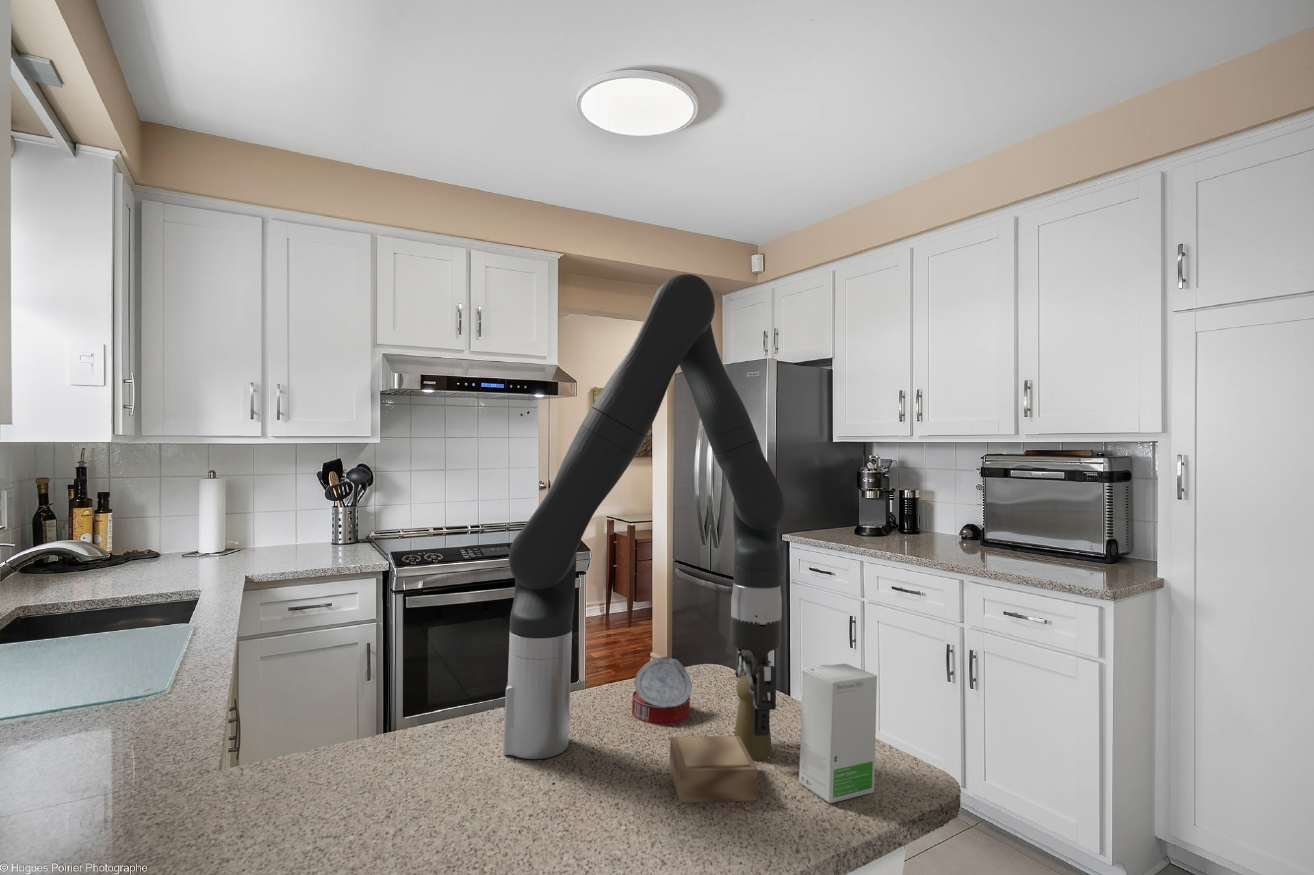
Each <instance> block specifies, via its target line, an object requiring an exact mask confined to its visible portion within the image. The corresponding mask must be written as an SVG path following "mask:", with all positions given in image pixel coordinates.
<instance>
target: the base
mask: <svg viewBox="0 0 1314 875" xmlns="http://www.w3.org/2000/svg"><path fill="white" fill-rule="evenodd" d="M669 738H670V742H669V743H670V744H669V745H670V746H669V768H670V772H671V775H672V780H673V782H674V787H675V790H676V794H677V797H678V801H679V803H680V804H682V803H683V804H685V803H687V804H690V803H719V802H721V803H722V802H724V803H725V802H754V801H756V802H757V800H758V773H759V772H758V770H759V769H758V767H757V765H756V764H755V761H754V760H752V758H751V756H750V754H749V753H748V751H747V749H746V747H745V745H744V743H743V742H742V740H741V738H740V736H734V735H721V736H720V735H718V736H717V735H716V736H715V735H713V736H711V735H710V736H670V737H669Z"/></svg>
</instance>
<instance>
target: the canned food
mask: <svg viewBox="0 0 1314 875" xmlns="http://www.w3.org/2000/svg"><path fill="white" fill-rule="evenodd" d="M692 684H693V683H692V681H691V676H690V675H689V673H688V672H687V670H686V667H685V666H684V665H683V664H682V663H681V662H680V661H679V660H678V659H675V658H671V657H669V656H661V657H660V656H659V657H654V659H651V660H650V661H648V662H646V663H645V664H644V665H642V667H641V668H640V669H639V670H638V671H637V672H636V676H635V680H634V687H635V691H634V692H632V696H631V697H632V700H631V703H632V706H631V715H632V716H633V717H634V718H635V719H636V720H638V721H640V722H643V723H646V724H651V725H661V726H662V725H664V726H665V725H674V724H679V723H682V722H684V721H685V720H687V719H688V718H689V716H690V705H691V704H690V702H691V695H692V689H693V685H692Z"/></svg>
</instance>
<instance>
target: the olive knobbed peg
mask: <svg viewBox="0 0 1314 875" xmlns="http://www.w3.org/2000/svg"><path fill="white" fill-rule="evenodd" d="M735 686H736V688H735V689H736V694H737V697H738V699H739V698H740V701H739V703H738V708H737V714H736V720H735V726H734V733H733V736H740V738H741V740H742V742H743V743H744V745H745V747H746V749H747V751H748V753H749V754H750V756H751V758H752V760H753V761H756V760H758V761H764V760H763V759H765V760H767V758H768V757H769V758H771V757H772V756H773V745H772V736H771V734H772V733H771V727H770V726H771V725H770V723H769V734H768V735H764V736H757V735H755V734H754V732H753V712H754V707H753V698H752V694H751V693H749V691H748V685H747V677H746V676H743V677H741V678H740V679H739V680H737V682H736V685H735ZM756 686H757V685H756ZM762 700H766V697H765V694H764V693H763V694H762ZM771 755H772V756H771ZM769 758H768V759H769Z"/></svg>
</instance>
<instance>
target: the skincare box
mask: <svg viewBox="0 0 1314 875" xmlns="http://www.w3.org/2000/svg"><path fill="white" fill-rule="evenodd" d="M801 674H802V676H801V677H802V684H801V686H802V688H801V711H800V712H801V716H800V717H801V720H800V744H799V745H800V746H799V747H800V748H799V749H800V750H799V774H798V775H799V776H798V778H799V780H798V782H799V784H800V785H802V786H803V787H805V788H806V789H808V791H810V792H812V794H814V795H816V796H817V797H819V798H821V799H822V800H823V801H825V802H827V803H829V804H833V803H837V802H841V801H845V800H849V799H852V798H856V797H857V798H858V797H860V796H864V795H867V794H868V795H869V794H873V793H874V792H875V776H876V774H875V772H876V770H875V769H876V768H875V767H876V764H875V763H876V733H877V732H876V730H877V729H876V728H877V691H878V690H877V689H878V686H877V685H878V684H877V683H878V675H877V674H874V673H873V672H869V671H866V670H865V669H864V670H863V669H862V668H858V667H856V666H853V665H851V664H848V663H838V664H822V665H819V666H811V667H802V669H801Z"/></svg>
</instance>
